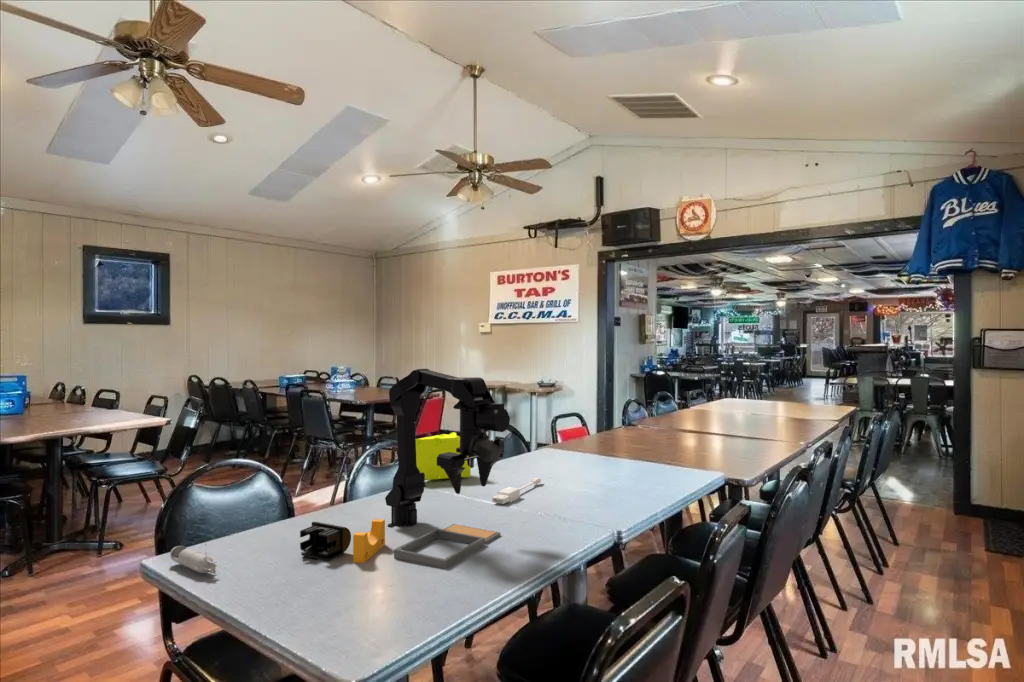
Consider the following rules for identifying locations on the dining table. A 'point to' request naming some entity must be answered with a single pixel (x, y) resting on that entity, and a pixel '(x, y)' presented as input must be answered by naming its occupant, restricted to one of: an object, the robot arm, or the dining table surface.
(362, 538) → the pipe clamp
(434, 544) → the dining table surface
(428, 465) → the cheese wedge
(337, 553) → the end cap
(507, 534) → the dining table surface
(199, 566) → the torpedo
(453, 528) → the lid
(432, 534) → the gray rectangular frame
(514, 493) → the charging cable
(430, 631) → the dining table surface
